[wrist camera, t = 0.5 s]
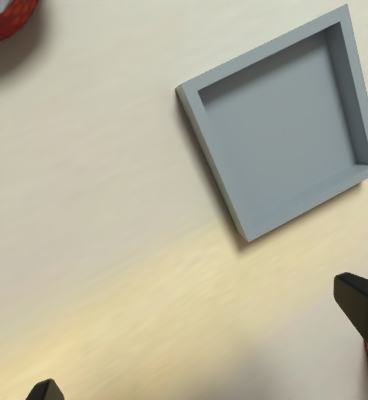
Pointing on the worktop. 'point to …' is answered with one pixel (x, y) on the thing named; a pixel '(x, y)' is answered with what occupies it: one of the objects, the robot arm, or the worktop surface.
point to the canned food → (14, 15)
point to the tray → (284, 123)
